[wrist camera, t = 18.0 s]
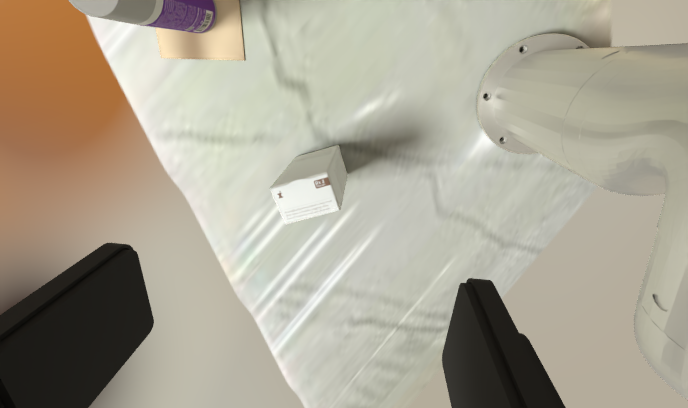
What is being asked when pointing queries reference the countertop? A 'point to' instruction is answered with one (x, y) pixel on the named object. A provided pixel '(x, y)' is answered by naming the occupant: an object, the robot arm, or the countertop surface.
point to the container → (155, 13)
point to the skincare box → (311, 185)
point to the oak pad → (207, 37)
